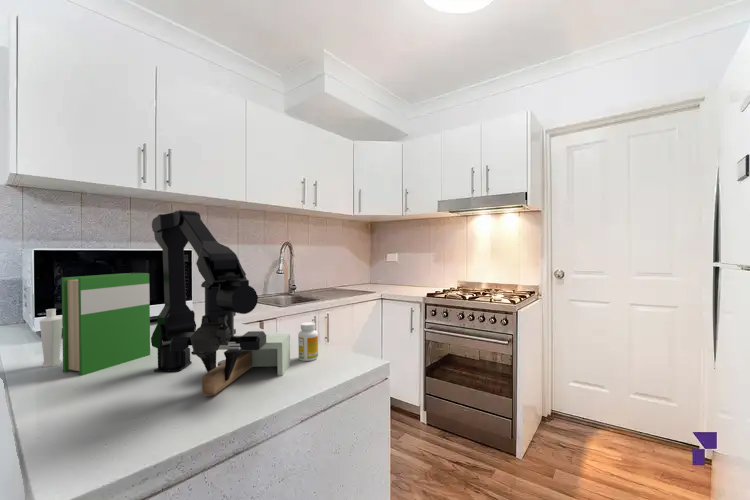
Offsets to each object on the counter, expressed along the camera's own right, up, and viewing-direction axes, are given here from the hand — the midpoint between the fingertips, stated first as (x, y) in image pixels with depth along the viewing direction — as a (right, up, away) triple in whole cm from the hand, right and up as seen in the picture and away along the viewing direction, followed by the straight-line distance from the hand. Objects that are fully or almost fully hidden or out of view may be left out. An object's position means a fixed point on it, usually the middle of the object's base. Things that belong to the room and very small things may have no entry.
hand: (220, 380), depth 76 cm
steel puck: (-3, -2, +11) cm, 12 cm away
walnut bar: (0, -1, +4) cm, 4 cm away
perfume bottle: (-54, -3, +18) cm, 57 cm away
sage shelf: (+3, -2, +12) cm, 13 cm away
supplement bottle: (+15, -2, +21) cm, 26 cm away
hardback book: (-39, -3, +19) cm, 43 cm away
